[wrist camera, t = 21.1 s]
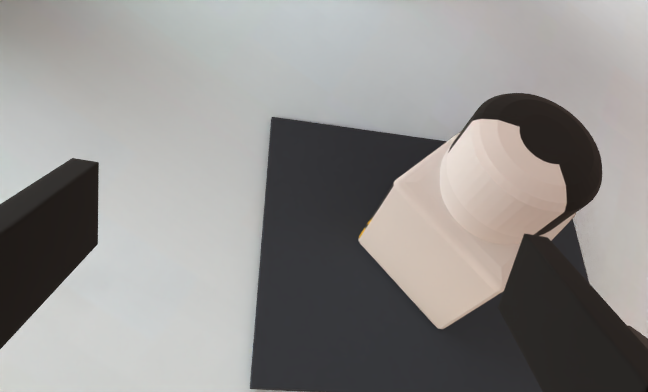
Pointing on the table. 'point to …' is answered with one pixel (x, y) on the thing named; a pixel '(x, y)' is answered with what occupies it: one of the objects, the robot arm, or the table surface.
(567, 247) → the mat
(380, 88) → the table surface
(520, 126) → the medicine bottle
